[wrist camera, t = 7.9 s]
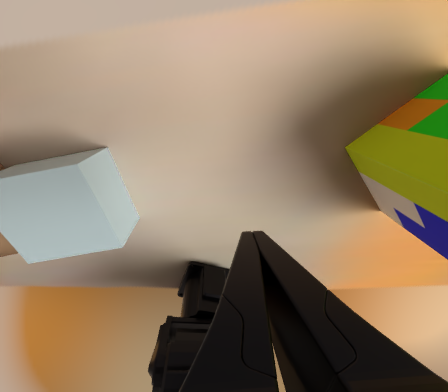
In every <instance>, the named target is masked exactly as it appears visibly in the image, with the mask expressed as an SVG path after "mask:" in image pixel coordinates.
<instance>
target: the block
mask: <svg viewBox="0 0 448 392" xmlns="http://www.w3.org/2000/svg"><path fill="white" fill-rule="evenodd" d="M139 218H140V217H139V215H138V213H137V210H136V208H135V206H134V204H133V202H132V199H131V197H130V195H129V193H128V191H127V188H126V186H125V184H124V182H123V180H122V177H121V175H120V173H119V171H118V168H117V166H116V164H115V162H114V160H113V157H112V155H111V153H110V151H109V149H108V147H105V148H100V149H95V150H90V151H85V152H80V153H74V154H69V155H64V156H59V157H54V158H49V159H43V160H38V161H33V162H28V163H23V164H18V165H14V166H11V167H9V168H6V169H4V170H1V171H0V232H1V233H2V235H3V236H4V237H5V238H6V239H7V240H8V241H9V243H10V244H11V245H12V246H13V247H14V248H15V249H16V250H17V252H18V253H19V254H20V255H21V256H22V257H23V258H24V259H25V261H26V262H27V263H28V264H30V263H36V262H42V261H48V260H53V259H59V258H65V257H71V256H77V255H82V254H88V253H94V252H100V251H106V250H111V249H117V248H123V246H124V245H125V243H126V241H127V239H128V237H129V236H130V234H131V232H132V230H133V229H134V227H135V225H136V223H137V222H138V220H139Z"/></svg>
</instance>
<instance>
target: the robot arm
mask: <svg viewBox="0 0 448 392" xmlns="http://www.w3.org/2000/svg"><path fill="white" fill-rule="evenodd" d="M178 296H179V297H183V303H182V310H181V317H172V316H167V320H166V323H164V324H163V325H161V326H160V330H159V334H158V339H157V343H156V346H155V349H154V352H153V355H152V358H151V361H150V364H149V368H148V372H149V374H150V376H151V378H152V385H153V390H152V392H279V389H278V382H277V374H276V367H275V360H274V353H273V346H274V350H275V354H276V357H277V361H278V365H279V368H280V371H281V375H282V379H283V382H284V385H285V390H286V392H448V382H447V381H446V380H444V379H442V378H441V377H440V376H438V375H436V374H435V373H434V372H432V371H431V370H430V369H428V368H427V367H426V366H424V365H423V364H421V363H420V362H419V361H418V360H416V359H415V358H414V357H412V356H411V355H410V354H408V353H407V352H406V351H404V350H403V349H402V348H401V347H399V346H398V345H397V344H395V343H394V342H393V341H391V340H390V339H389V338H387V337H386V336H385V335H383V334H382V333H381V332H380V331H378V330H377V329H376V328H374V327H373V326H371V325H370V324H369V323H368V322H366V321H365V320H364V319H363V318H362V317H360V316H359V315H358V314H357V313H355V312H354V311H353V310H352V309H351V308H349V307H348V306H347V305H346V304H345V303H343V302H342V301H341V300H340V299H339V298H337V297H336V296H335V295H334V294H333V293H332V292H331V291H330V290H327V288H326V287H325V286H324V285H323V284H322V283H321V282H319V281H318V280H317V279H316V278H315V277H314V276H313V275H312V274H310V273H309V272H308V271H307V270H306V269H305V268H304V267H303V266H301V265H300V264H299V263H298V262H297V261H296V260H295V259H294V258H292V257H291V256H290V255H289V254H288V253H287V252H286V251H285V250H283V249H282V248H281V247H280V246H279V245H278V244H277V243H276V242H274V241H273V240H272V239H271V238H270V237H269V236H268V235H267V234H265V233H264V232H263V231H253V232H251V231H245V232H242V233H241V236H240V240H239V243H238V246H237V249H236V252H235V255H234V258H233V261H232V264H231V267H230V270H228V269H224V268H219V267H214V266H210V265H205V264H201V263H196V262H190V263H189V264H188V267H187V269H186V272H185V275H184V277H183V280H182V283H181V285H180V288H179V291H178ZM272 343H273V346H272Z"/></svg>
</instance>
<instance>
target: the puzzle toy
mask: <svg viewBox="0 0 448 392" xmlns="http://www.w3.org/2000/svg"><path fill="white" fill-rule="evenodd" d="M345 149H346V151H347V152H348V154H349V156H350V158H351V159H352V161H353V163H354V165H355V166H356V168H357V170H358V172H359V173H360V175H361V177H362V179H363V181H364V182H365V184H366V186H367V188H368V189H369V191H370V193H371V195H372V196H373V198H374V200H375V202H376V203H377V205H378V207H379V209H380V210H381V211H382V212H383V213H384V214H386V215H387V216H388V217H390V218H391V219H393V220H394V221H395V222H397V223H398V224H399V225H401V226H402V227H404V228H405V229H406V230H408V231H409V232H410V233H412V234H413V235H415V236H416V237H417V238H419V239H420V240H421V241H423V242H424V243H426V244H427V245H428V246H430V247H431V248H433V249H434V250H435V251H437V252H438V253H439V254H441V255H442V256H444V257H445V258H446V259H448V74H446V75H445V76H443V77H442V78H441V79H439V80H438V81H437V82H435V83H434V84H432V85H431V86H430V87H428V88H427V89H425V90H424V91H423V92H421V93H420V94H418V95H417V96H416V97H414V98H413V99H412V100H410V101H409V102H407V103H406V104H405V105H403V106H402V107H400V108H399V109H398V110H396V111H395V112H393V113H392V114H391V115H389V116H388V117H386V118H385V119H384V120H382V121H381V122H380V123H378V124H377V125H375V126H374V127H373V128H371V129H370V130H368V131H367V132H366V133H364V134H363V135H361V136H360V137H359V138H357V139H356V140H355V141H353V142H352V143H350V144H349V145H348V146H346V147H345Z"/></svg>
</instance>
